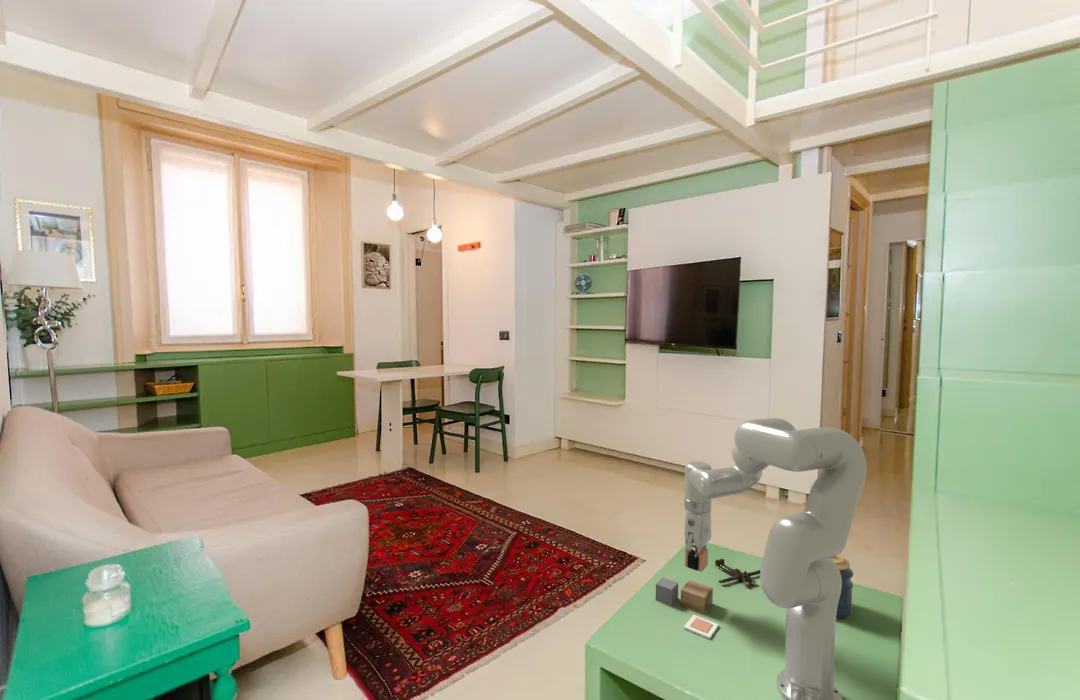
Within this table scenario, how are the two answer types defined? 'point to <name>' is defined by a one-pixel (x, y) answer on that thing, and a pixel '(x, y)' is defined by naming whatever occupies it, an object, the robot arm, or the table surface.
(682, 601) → the walnut block
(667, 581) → the charcoal block
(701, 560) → the terracotta block
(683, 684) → the table surface
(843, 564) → the canister
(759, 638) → the table surface
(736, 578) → the brown spindly figurine
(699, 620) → the card
